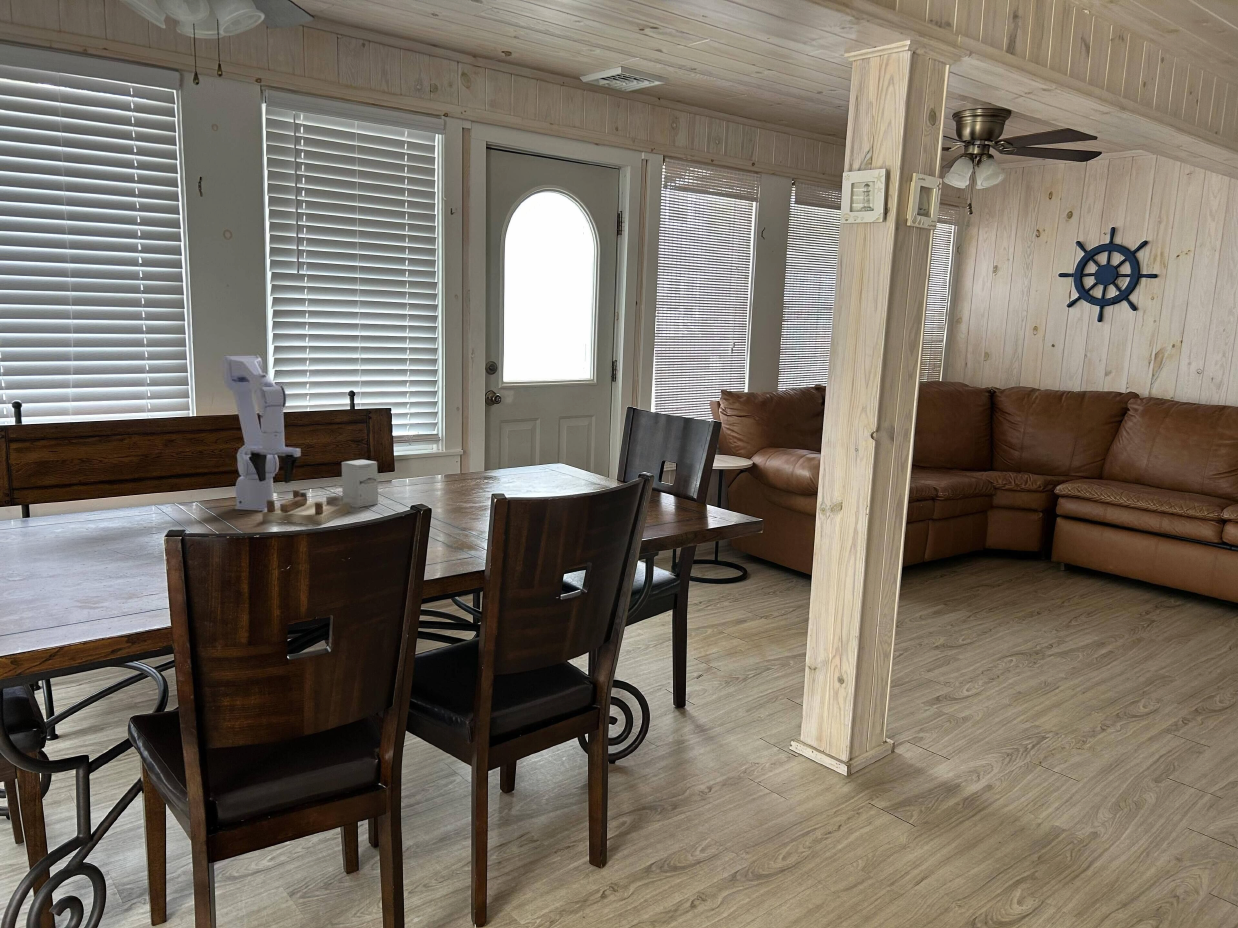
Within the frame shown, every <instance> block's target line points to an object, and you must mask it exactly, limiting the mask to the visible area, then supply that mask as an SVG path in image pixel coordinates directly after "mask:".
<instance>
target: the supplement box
mask: <svg viewBox="0 0 1238 928" xmlns="http://www.w3.org/2000/svg"><path fill="white" fill-rule="evenodd" d="M378 478H379V477H378V462H377V461H373V460H367V459H356V460H348V461H342V462H341V483H342V484H341V487H342V490H341V491H342V496H343V502H345V503H350V507H352V508H356V509H359V508H362V507H368V506H375V505H378V504H379V488H378V487H379V486H378V483H379V482H378V480H379V479H378Z"/></svg>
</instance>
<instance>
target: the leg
mask: <svg viewBox="0 0 1238 928" xmlns="http://www.w3.org/2000/svg"><path fill="white" fill-rule="evenodd" d="M300 495H301V496H299V497H297V498H294V499H293V498H292V499H289V500H286V501H284V502H282V503H280V511H281V512H288V511H291V510H293V509H296V508H298V507H300V506H303V505H305V504H307V500H308V497H307V495H308V494H307V492H306V491H300Z"/></svg>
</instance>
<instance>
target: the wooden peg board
mask: <svg viewBox="0 0 1238 928" xmlns="http://www.w3.org/2000/svg"><path fill="white" fill-rule="evenodd" d="M300 493H301V489H293V490H292V499H294V498H297V497H299V496H301V495H300ZM325 497H326V499H325V500H326V501H325V500H324V501H323V500H312V499H311V500H308V499H307V504H305V505H303V506H300V507H298V508H296V509H293V510H291V511H288V512H281V511H280V505H278V506H276V507H275V503H276V502H275V501H276V500H275V499H274V500H267V510H266V511H261V514H262V522H269V521H287V522H296V523H295V524H300V523H303V524H304V525H316V526H317V525H318V526H319V525H320V526H322V525H321V524H323V525H325V524H327V523H329V522H331V521H333V520H335V519H338V518H339V517H341V516H343V515H345V514H347V513H350V511H351V510H350V509H351V508H350V507H351V506H350V503H345V502H343V495H331V494H330V495H327V496H325ZM303 524H302V525H303Z"/></svg>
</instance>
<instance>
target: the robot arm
mask: <svg viewBox="0 0 1238 928" xmlns="http://www.w3.org/2000/svg"><path fill="white" fill-rule="evenodd" d="M263 367H264V366H263V361H262V358H261V357H260V355H258V354H257V355H256V354H255V355H231V356H230V355H229V356H228V355H225V356H223V357H222V360H221V371H222V372H221V374H222V377H223V380H224V385H225V388H226V389H229V390H231V391H232V395H233V397H234V400H235V403H236V404H235V405H236V409H237V414H238V418H239V423H240V427H241V431H242V437H243V441H244V445H243V446H241V447H240V448H239V449H238V451H237V453H236V459H237V471H238V473H239V475H240V477H238V478H237V480H236V483H235V499H236V500H235V501H236V507H234V509H235V510H242V511H243V510H244V511H245V510H247V511H261V512H263V511H266V510H267V500H275V499H274V479H273V477H275V474H277V473H278V471H279V468H280V465H279V464H280V463H279V462H280V461H281V464H282V469H283V479H284V480H283V481H284V484H289V483H291V482H292V479H293V474H294V470H295V468H296V465H297V463H298V461H299V459H300V457H301V455H302V454H301V453H302V452H301V451H302V450H301V448H297V447H289V446H288V447H286V444H285V421H284V408H285V407H286V403H287V393H286V390H285V387H284V386H283V385H276V384H275V383H274V381H273V380H272V379H271V377H270V376H269V375H268V374H266V373H265V372H263V371H264V369H263ZM253 394H254V395H255V398H256V404H257V409H256V405H255V400H254V396H253ZM257 411H258V413H257ZM258 415H260V416H259V417H260V422H259V418H258ZM278 456H282V457H281V458H280V461H279V458H278ZM280 504H281V503H277V502H275V507H276V506H278V505H280Z"/></svg>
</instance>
